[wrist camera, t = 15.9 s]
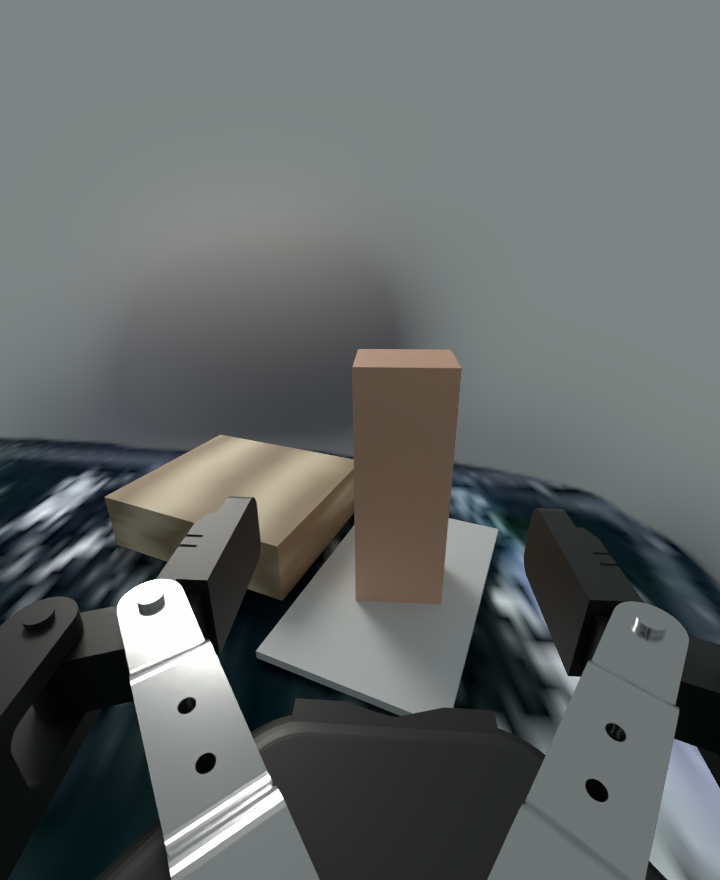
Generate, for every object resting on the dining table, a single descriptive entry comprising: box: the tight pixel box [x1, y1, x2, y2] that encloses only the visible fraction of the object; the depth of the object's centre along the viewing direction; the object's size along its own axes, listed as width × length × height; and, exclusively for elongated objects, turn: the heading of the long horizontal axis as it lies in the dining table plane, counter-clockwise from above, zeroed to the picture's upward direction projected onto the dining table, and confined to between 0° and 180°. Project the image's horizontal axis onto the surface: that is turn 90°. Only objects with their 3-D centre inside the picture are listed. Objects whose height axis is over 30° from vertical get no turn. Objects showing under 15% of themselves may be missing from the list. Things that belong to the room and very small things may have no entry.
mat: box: [256, 518, 498, 716], centre depth 28 cm, size 10×16×1 cm, turn 156°
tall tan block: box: [352, 349, 462, 604], centre depth 25 cm, size 5×4×14 cm
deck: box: [105, 435, 354, 601], centre depth 34 cm, size 14×12×4 cm
